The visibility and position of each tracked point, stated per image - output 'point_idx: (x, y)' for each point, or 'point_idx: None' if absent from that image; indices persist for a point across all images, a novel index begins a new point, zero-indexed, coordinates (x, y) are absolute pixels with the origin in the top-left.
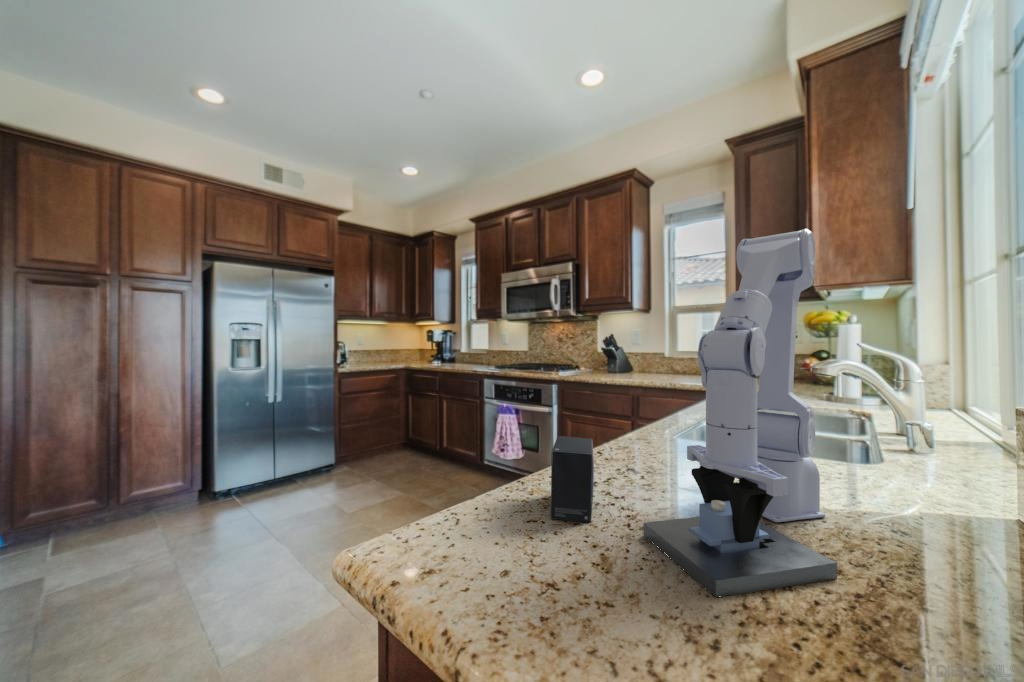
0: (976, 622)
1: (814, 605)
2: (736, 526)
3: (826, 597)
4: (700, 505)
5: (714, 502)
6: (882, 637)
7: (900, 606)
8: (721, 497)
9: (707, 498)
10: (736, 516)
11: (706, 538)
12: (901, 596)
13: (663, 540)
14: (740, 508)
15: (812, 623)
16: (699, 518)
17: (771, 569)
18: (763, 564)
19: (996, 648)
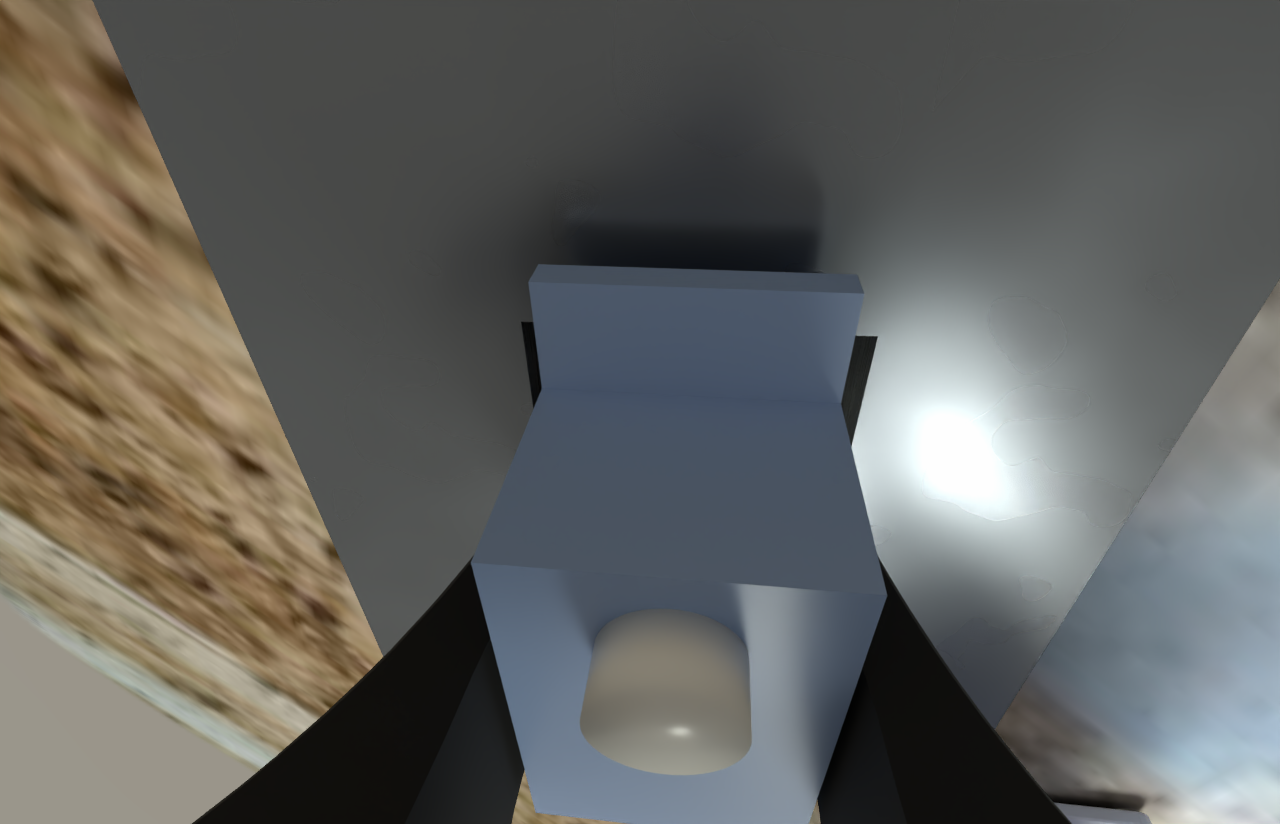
0: (227, 718)
1: (225, 443)
2: (473, 576)
3: (296, 524)
4: (857, 581)
5: (680, 709)
6: (63, 487)
7: (274, 654)
8: (845, 820)
9: (892, 732)
10: (418, 660)
11: (596, 296)
12: (332, 694)
13: None
14: (261, 769)
15: (71, 330)
16: (851, 456)
17: (317, 454)
18: (372, 457)
19: (114, 667)
